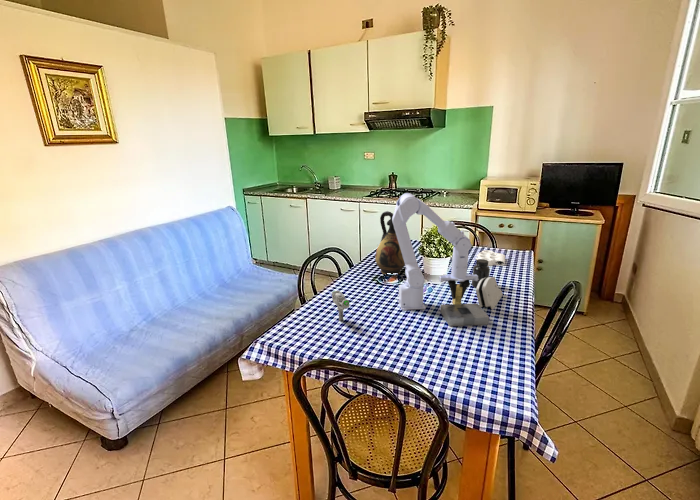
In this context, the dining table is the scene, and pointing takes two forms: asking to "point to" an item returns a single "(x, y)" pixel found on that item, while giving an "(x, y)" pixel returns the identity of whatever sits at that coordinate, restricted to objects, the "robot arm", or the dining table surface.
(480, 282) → the white angular device
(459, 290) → the wood grain block
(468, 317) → the grey slotted plate
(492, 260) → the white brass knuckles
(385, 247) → the ceramic jug
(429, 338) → the dining table surface
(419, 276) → the robot arm
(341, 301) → the mechanical component
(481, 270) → the supplement bottle
